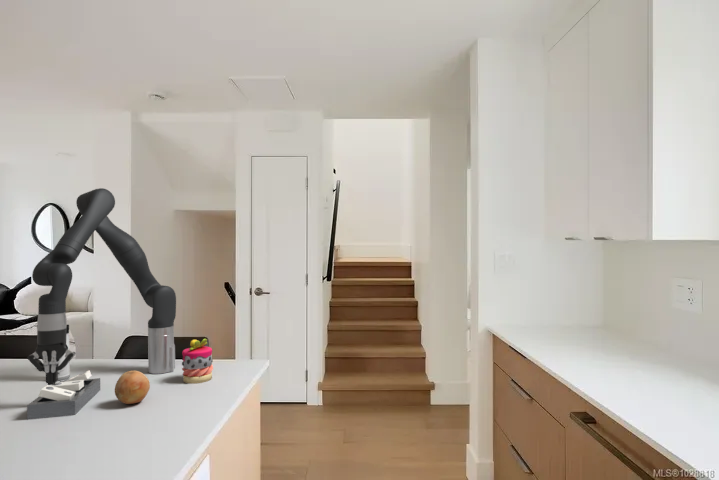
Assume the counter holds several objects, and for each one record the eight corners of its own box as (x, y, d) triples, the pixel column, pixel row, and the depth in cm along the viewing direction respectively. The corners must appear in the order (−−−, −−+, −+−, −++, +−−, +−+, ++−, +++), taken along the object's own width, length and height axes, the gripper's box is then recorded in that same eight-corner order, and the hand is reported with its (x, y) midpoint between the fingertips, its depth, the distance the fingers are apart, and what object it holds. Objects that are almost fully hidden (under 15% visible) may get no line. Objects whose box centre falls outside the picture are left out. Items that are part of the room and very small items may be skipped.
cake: (175, 382, 163) (175, 340, 163) (196, 374, 173) (196, 334, 173) (199, 385, 159) (198, 341, 159) (219, 376, 169) (218, 336, 169)
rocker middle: (83, 386, 145) (83, 379, 145) (79, 390, 141) (78, 383, 141) (55, 389, 144) (55, 382, 144) (49, 393, 139) (49, 386, 139)
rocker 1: (73, 398, 138) (75, 391, 138) (67, 403, 134) (70, 395, 134) (44, 391, 136) (47, 384, 136) (38, 396, 132) (41, 388, 132)
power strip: (107, 382, 164) (107, 371, 164) (75, 414, 132) (74, 400, 132) (70, 385, 161) (69, 374, 161) (27, 419, 129) (27, 405, 129)
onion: (157, 399, 144) (157, 367, 145) (132, 410, 135) (131, 376, 135) (133, 396, 148) (133, 365, 148) (107, 407, 138) (106, 373, 138)
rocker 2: (91, 375, 153) (89, 369, 153) (87, 379, 149) (84, 373, 148) (66, 385, 151) (63, 380, 151) (61, 389, 147) (58, 383, 146)
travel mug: (60, 381, 166) (60, 326, 167) (45, 380, 168) (44, 326, 168) (74, 376, 173) (74, 323, 173) (59, 376, 174) (59, 323, 174)
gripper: (80, 324, 147) (79, 379, 147) (33, 326, 144) (32, 382, 143) (71, 328, 140) (71, 386, 139) (21, 330, 136) (21, 389, 136)
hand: (51, 384), depth 141 cm, fingers closed
